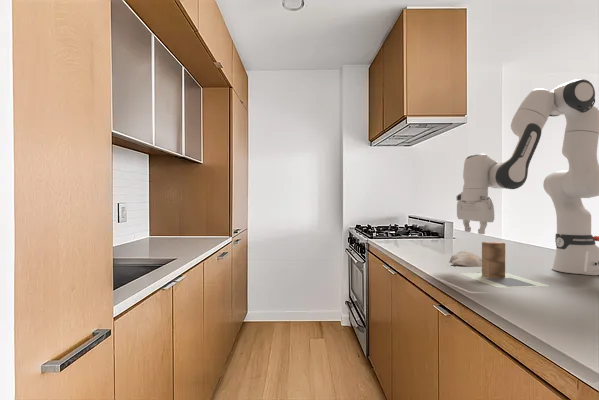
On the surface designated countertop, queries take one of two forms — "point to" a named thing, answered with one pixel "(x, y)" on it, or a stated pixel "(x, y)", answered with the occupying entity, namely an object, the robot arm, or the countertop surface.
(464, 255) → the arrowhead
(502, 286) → the sage mat
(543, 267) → the countertop surface
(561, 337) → the countertop surface
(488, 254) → the walnut block
